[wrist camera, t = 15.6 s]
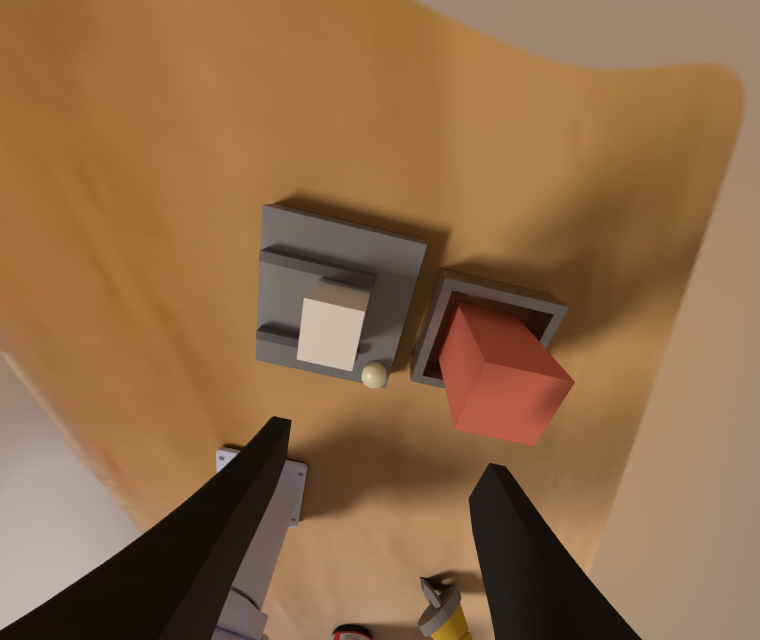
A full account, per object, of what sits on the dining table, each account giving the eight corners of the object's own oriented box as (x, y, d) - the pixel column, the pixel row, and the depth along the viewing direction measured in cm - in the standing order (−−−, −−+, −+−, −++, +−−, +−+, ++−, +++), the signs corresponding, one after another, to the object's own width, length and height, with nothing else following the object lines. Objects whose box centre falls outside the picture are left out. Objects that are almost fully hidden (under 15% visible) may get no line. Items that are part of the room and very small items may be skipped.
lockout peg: (491, 365, 20) (533, 446, 14) (437, 352, 20) (454, 429, 14) (515, 315, 19) (574, 382, 12) (456, 301, 19) (486, 362, 12)
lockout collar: (505, 385, 21) (515, 404, 19) (409, 363, 21) (410, 381, 19) (552, 294, 18) (569, 307, 16) (440, 268, 18) (445, 277, 16)
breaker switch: (359, 341, 18) (351, 371, 16) (312, 331, 18) (296, 359, 15) (370, 289, 17) (365, 311, 14) (320, 277, 17) (303, 297, 14)
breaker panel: (386, 374, 21) (384, 395, 19) (265, 348, 21) (250, 366, 19) (424, 240, 17) (428, 247, 15) (273, 203, 17) (255, 206, 15)
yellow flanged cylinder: (442, 559, 32) (515, 670, 27) (432, 559, 36) (494, 656, 31) (404, 598, 30) (476, 727, 25) (399, 593, 34) (459, 703, 29)
